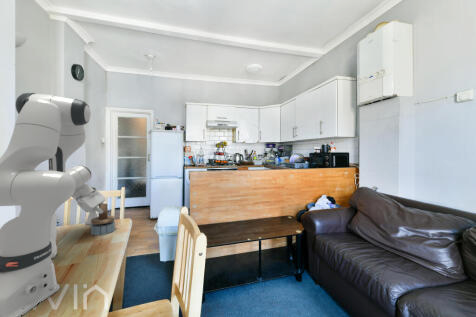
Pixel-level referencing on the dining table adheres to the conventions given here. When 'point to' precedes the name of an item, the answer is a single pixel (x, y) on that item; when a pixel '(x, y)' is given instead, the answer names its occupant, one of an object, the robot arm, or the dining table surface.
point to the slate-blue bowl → (102, 228)
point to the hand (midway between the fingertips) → (104, 211)
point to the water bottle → (53, 235)
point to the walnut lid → (103, 216)
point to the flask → (91, 217)
